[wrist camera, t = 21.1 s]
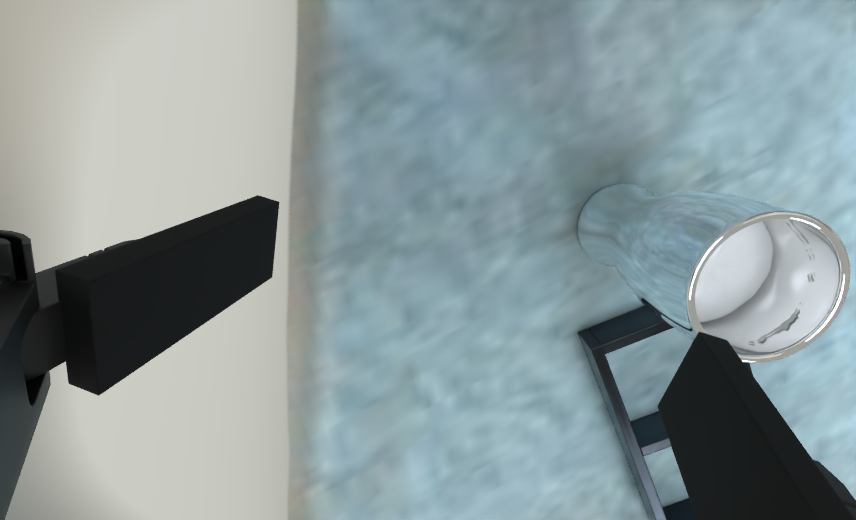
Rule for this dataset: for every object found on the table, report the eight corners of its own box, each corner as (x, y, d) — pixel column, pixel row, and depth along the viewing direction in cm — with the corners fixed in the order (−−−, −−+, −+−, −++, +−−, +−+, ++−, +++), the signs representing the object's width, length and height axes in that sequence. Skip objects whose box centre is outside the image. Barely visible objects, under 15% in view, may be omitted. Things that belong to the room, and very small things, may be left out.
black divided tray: (704, 281, 34) (730, 294, 31) (763, 480, 39) (791, 508, 36) (577, 332, 35) (590, 349, 32) (649, 519, 40) (667, 549, 37)
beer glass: (557, 200, 32) (662, 247, 18) (650, 160, 32) (839, 176, 17) (588, 285, 34) (707, 391, 20) (677, 249, 33) (870, 331, 19)
